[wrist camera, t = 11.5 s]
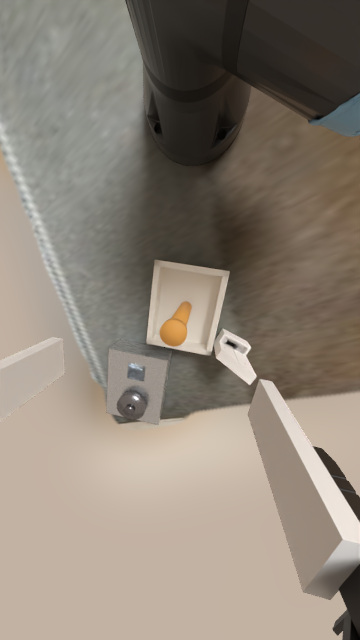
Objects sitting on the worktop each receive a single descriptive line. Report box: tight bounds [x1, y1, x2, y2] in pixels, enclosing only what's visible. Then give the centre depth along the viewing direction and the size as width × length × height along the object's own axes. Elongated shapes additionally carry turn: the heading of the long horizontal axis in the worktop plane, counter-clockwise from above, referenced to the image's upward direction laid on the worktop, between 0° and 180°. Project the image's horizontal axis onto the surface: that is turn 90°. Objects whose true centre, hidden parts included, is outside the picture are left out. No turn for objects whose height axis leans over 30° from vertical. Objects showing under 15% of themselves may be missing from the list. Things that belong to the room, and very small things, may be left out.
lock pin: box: [160, 301, 192, 346], centre depth 27 cm, size 3×3×15 cm
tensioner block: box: [107, 339, 172, 425], centre depth 37 cm, size 16×12×8 cm
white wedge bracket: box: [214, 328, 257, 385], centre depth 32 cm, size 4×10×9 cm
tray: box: [146, 260, 230, 356], centre depth 33 cm, size 16×13×4 cm
